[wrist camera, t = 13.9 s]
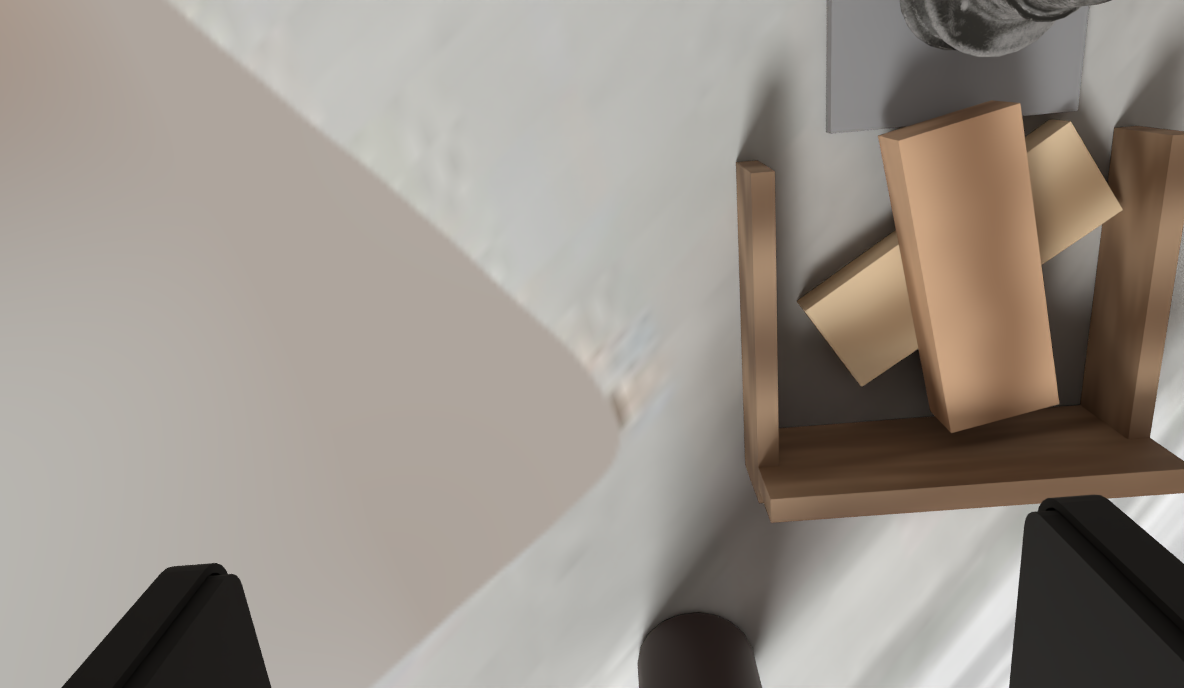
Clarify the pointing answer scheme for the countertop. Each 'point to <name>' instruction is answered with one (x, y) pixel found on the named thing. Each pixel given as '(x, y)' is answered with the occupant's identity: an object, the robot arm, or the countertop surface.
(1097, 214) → the lower offcut
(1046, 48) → the mat
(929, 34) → the grey stone finial
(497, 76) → the countertop surface
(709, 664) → the bottle
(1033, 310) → the upper offcut
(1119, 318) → the rack
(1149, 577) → the robot arm
